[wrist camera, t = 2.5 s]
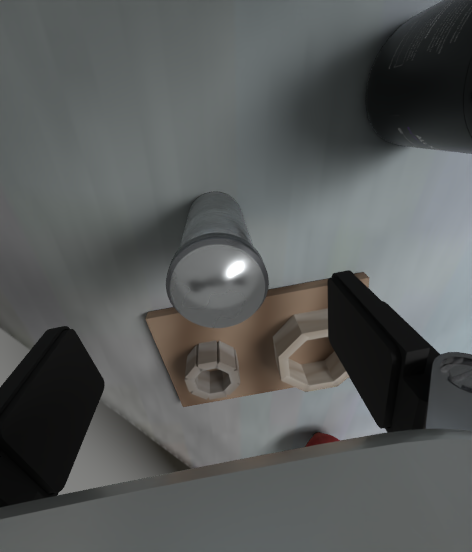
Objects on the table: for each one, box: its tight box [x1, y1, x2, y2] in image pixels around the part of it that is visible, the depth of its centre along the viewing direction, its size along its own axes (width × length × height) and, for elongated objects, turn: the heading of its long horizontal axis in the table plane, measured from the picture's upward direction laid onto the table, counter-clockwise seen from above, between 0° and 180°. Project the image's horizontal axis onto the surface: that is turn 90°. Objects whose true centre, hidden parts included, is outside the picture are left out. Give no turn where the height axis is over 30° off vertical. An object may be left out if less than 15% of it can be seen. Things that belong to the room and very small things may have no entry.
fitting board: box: [146, 272, 369, 407], centre depth 25 cm, size 19×12×4 cm, turn 100°
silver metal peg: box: [166, 192, 269, 328], centre depth 16 cm, size 4×4×10 cm
